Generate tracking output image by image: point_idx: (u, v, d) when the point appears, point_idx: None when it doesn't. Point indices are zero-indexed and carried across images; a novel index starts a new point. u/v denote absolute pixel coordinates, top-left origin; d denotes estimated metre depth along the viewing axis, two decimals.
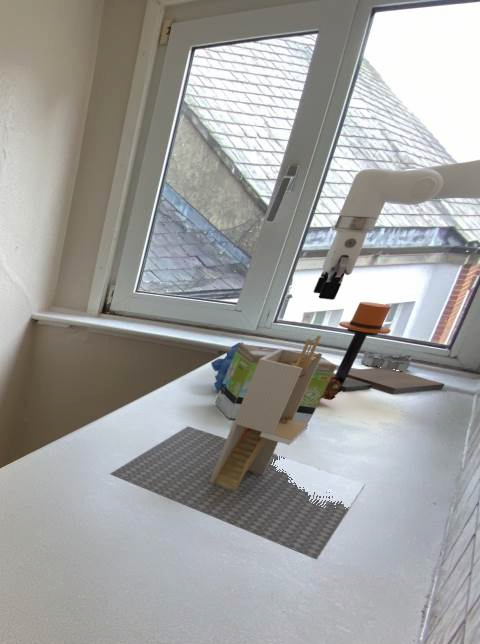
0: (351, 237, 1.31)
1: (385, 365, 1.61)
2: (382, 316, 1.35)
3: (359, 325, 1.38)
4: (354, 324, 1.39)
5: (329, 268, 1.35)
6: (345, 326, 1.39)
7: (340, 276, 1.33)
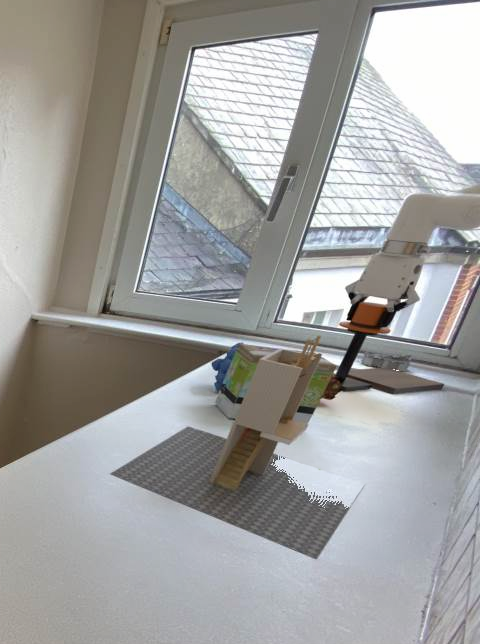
0: (418, 263, 1.28)
1: (385, 365, 1.61)
2: None
3: (359, 325, 1.38)
4: (354, 324, 1.39)
5: (398, 295, 1.31)
6: (345, 326, 1.39)
7: (407, 306, 1.31)
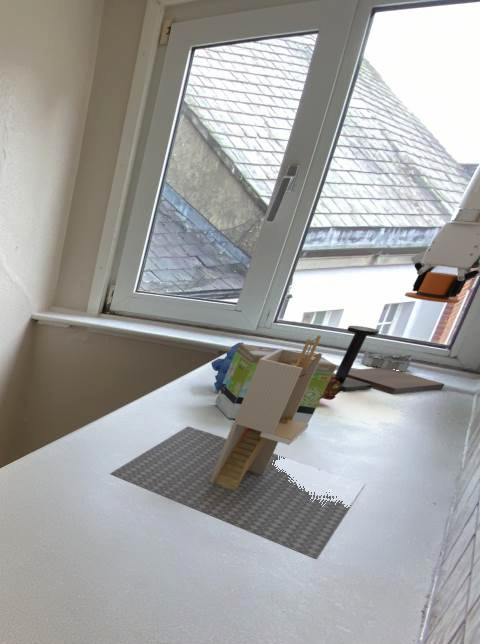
0: None
1: (385, 365, 1.61)
2: None
3: (427, 295, 1.38)
4: (421, 294, 1.39)
5: (470, 264, 1.31)
6: (412, 296, 1.39)
7: (478, 274, 1.31)
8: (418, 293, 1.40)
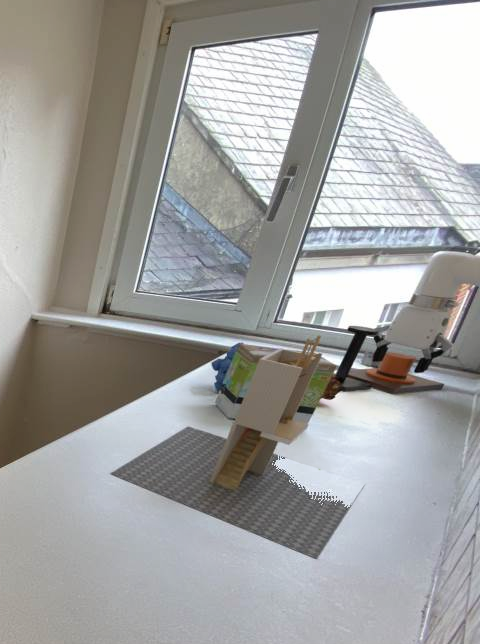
0: (446, 317, 1.37)
1: None
2: (407, 367, 1.45)
3: (385, 374, 1.47)
4: (381, 373, 1.48)
5: (427, 346, 1.40)
6: (372, 375, 1.49)
7: (444, 353, 1.39)
8: (378, 372, 1.49)
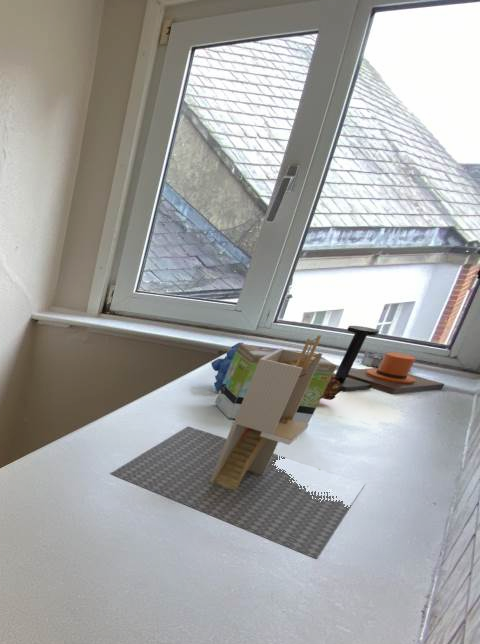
0: None
1: None
2: (407, 367, 1.45)
3: (385, 374, 1.47)
4: (381, 373, 1.48)
5: None
6: (372, 375, 1.49)
7: None
8: (378, 372, 1.49)
